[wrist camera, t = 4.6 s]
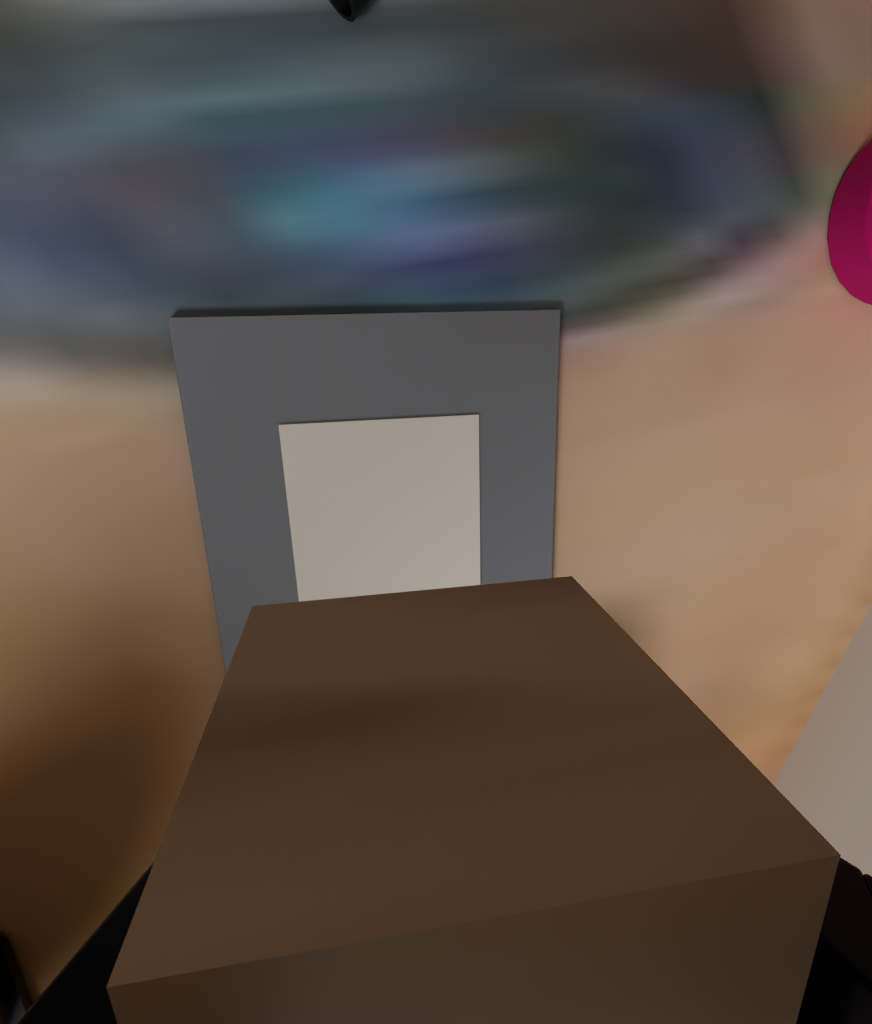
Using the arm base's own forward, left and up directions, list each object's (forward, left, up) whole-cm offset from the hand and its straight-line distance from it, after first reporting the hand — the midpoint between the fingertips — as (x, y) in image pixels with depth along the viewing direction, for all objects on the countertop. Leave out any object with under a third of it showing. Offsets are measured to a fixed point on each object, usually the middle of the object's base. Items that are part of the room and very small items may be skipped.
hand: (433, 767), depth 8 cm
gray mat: (0, 0, -13) cm, 13 cm away
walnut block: (0, 0, -1) cm, 1 cm away
